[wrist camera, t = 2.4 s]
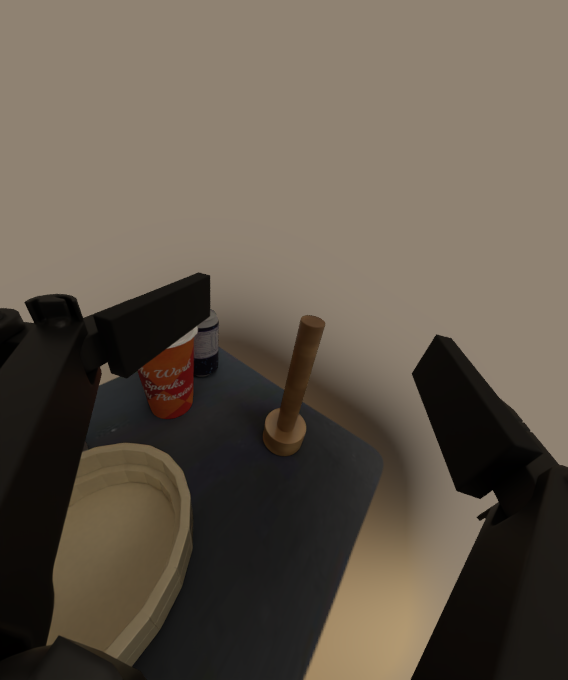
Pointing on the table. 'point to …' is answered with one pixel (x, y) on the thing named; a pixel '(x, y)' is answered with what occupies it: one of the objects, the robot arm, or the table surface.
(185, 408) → the coffee cup
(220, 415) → the table surface
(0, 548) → the robot arm
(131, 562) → the bowl
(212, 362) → the beverage can
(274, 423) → the brown tall rod post
